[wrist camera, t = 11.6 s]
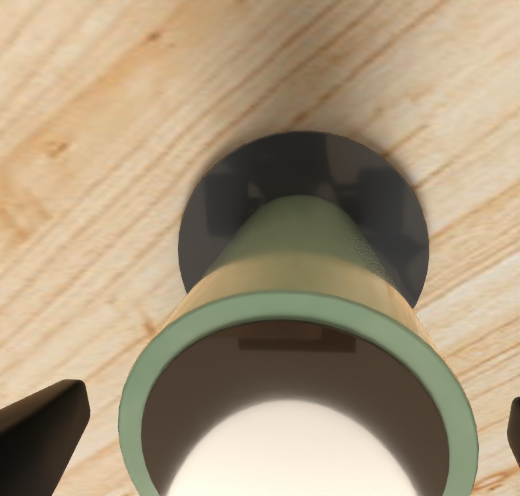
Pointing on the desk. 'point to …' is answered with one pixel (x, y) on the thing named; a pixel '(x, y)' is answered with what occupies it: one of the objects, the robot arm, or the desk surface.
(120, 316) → the desk surface
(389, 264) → the coaster
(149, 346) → the cup
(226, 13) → the desk surface
